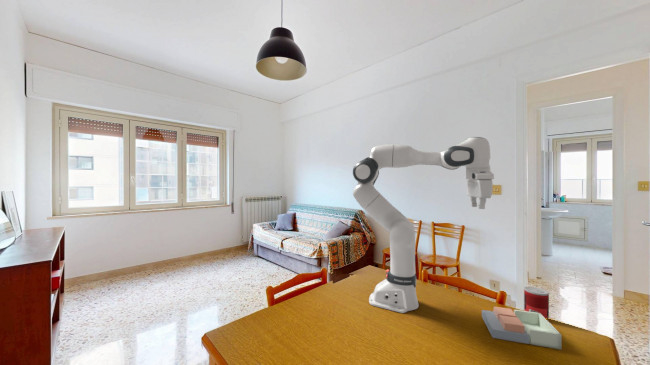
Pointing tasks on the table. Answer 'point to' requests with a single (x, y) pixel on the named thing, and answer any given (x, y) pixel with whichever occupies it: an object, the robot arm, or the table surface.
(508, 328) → the tile
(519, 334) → the shallow grey tray
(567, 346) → the table surface
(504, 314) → the tile
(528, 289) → the canned food
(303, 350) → the table surface
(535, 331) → the bin
